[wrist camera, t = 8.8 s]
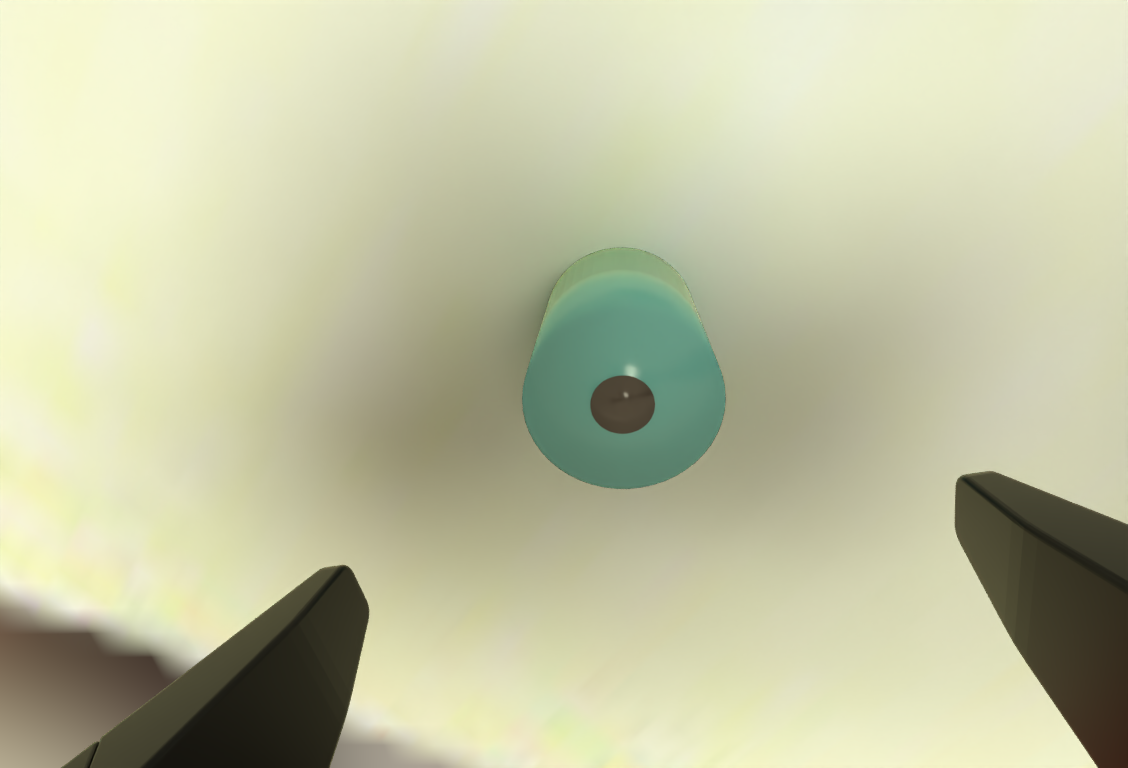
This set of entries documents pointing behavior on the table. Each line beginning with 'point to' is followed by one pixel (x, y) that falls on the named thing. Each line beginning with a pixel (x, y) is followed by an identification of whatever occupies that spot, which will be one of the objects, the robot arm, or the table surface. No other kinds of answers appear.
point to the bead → (622, 373)
